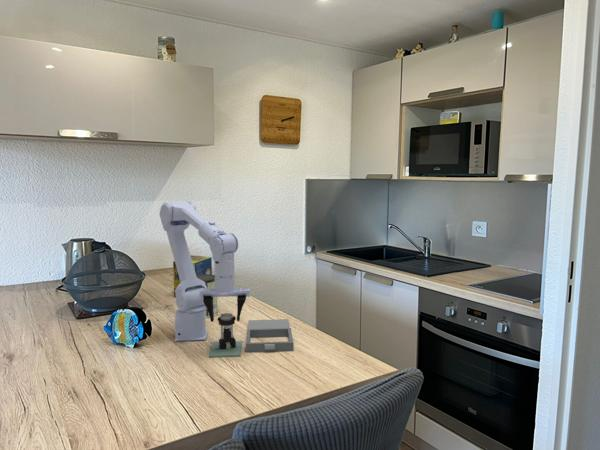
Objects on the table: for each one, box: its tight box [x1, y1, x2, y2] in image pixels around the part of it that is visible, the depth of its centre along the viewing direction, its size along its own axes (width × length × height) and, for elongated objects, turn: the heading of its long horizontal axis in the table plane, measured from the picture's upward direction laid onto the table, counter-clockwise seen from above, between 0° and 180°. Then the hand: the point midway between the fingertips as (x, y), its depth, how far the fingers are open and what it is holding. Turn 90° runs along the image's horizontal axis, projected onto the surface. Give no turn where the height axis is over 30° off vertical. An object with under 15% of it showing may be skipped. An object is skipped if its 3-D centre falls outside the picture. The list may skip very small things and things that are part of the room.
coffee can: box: [190, 274, 219, 319], centre depth 170 cm, size 10×10×14 cm
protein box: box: [172, 255, 213, 298], centre depth 199 cm, size 10×15×16 cm
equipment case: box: [245, 318, 294, 353], centre depth 147 cm, size 14×27×2 cm, turn 5°
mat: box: [208, 340, 243, 358], centre depth 136 cm, size 9×11×1 cm
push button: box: [214, 312, 237, 349], centre depth 136 cm, size 7×5×10 cm
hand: (225, 320), depth 135 cm, fingers open, 7 cm apart
